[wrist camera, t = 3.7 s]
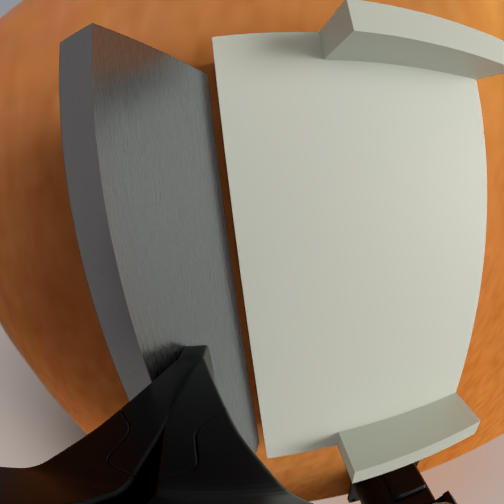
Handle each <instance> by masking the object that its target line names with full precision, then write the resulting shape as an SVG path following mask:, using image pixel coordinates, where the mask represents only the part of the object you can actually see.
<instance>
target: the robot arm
mask: <svg viewBox="0 0 504 504" xmlns="http://www.w3.org/2000/svg"><path fill="white" fill-rule="evenodd" d="M418 462H419V461H416V462H414V463H411V464H409V465H406V466H404V467H401V468H398V469H396V470H393V471H390V472H387V473H384V474H382V475H379V476H375V477H372V478H369V479H366V480H363V481H359V482H356V483H353V484H352V481H351V486H350V490H349V494H348V501H349V502H355V501H358V500H360V501H361V504H457V503H456V501H455V499H454V498H453V497H452V495H451V494H450V492H449V491H447V492H445V493H444V494H443V495H442V496H441V497H440V498H438V499H437V500H435V499H434V496H433V495H432V493H431V491H430V489H429V488H428V486H427V484H426V482H425V481H424V479H423V477H422V476H421V474H420V472H419V470H418V469H417V464H418ZM0 504H313V503H310V502H308V501H306V500H304V499H302V498H300V497H297V496H295V495H294V494H292V493H291V492H289V491H288V490H287V489H286V488H285V487H284V486H283V485H281V484H280V483H279V481H278V480H277V479H276V478H275V477H274V476H273V475H272V474H271V473H270V471H269V470H268V469H267V468H266V467H265V465H264V464H263V463H262V462H261V461H260V459H259V458H258V457H257V456H256V454H255V453H254V452H253V451H252V449H251V448H250V447H249V446H248V444H247V443H246V441H245V440H244V439H243V437H242V436H241V434H240V433H239V431H238V429H237V428H236V426H235V424H234V422H233V420H232V418H231V416H230V414H229V412H228V410H227V408H226V406H225V404H224V402H223V399H222V397H221V395H220V393H219V391H218V388H217V386H216V384H215V382H214V371H213V365H212V360H211V355H210V350H209V347H208V346H207V345H196V346H185V347H184V349H183V351H182V353H181V355H180V357H179V359H178V360H177V361H176V362H174V363H173V364H172V365H171V366H170V367H169V368H168V369H166V370H165V371H164V372H163V373H162V374H161V375H160V376H158V377H157V378H156V379H155V380H154V381H153V382H152V383H150V384H149V385H148V386H147V387H146V388H145V389H143V390H142V391H141V392H140V393H139V394H138V395H137V396H135V397H134V398H133V399H132V400H131V401H129V402H128V403H127V404H126V405H125V406H124V407H122V410H119V411H118V412H116V413H115V414H114V415H113V416H112V417H110V418H109V419H108V420H107V421H105V422H104V423H103V424H102V425H100V426H99V427H98V428H96V429H95V430H94V431H92V432H91V433H89V434H88V435H86V436H85V437H84V438H82V439H81V440H79V441H78V442H76V443H75V444H73V445H71V446H70V447H68V448H67V449H65V450H64V451H62V452H61V453H59V454H58V455H56V456H54V457H53V458H51V459H50V460H48V461H46V462H45V463H43V464H40V465H37V466H34V467H30V468H6V467H0Z"/></svg>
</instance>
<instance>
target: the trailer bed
mask: <svg viewBox="0 0 504 504" xmlns="http://www.w3.org/2000/svg"><path fill="white" fill-rule="evenodd" d="M212 44H213V54H214V63H215V72H216V81H217V90H218V99H219V108H220V116H221V125H222V133H223V141H224V150H225V158H226V166H227V174H228V182H229V190H230V198H231V206H232V214H233V221H234V229H235V237H236V244H237V252H238V260H239V267H240V274H241V282H242V289H243V296H244V304H245V311H246V318H247V325H248V332H249V339H250V346H251V353H252V360H253V367H254V374H255V381H256V388H257V394H258V401H259V408H260V414H261V421H262V427H263V434H264V440H265V446H266V453H267V458H273V457H280V456H286V455H292V454H297V453H302V452H307V451H312V450H317V449H322V448H326V447H330V446H334V445H338V448H339V450H340V453H341V456H342V458H343V461H344V463H345V466H346V468H347V471H348V474H349V476H350V479H351V481H352V484H353V483H356V482H359V481H363V480H366V479H369V478H372V477H375V476H379V475H382V474H384V473H387V472H390V471H393V470H396V469H398V468H401V467H404V466H406V465H409V464H411V463H414V462H416V461H419V460H421V459H423V458H426V457H428V456H430V455H433V454H435V453H437V452H439V451H441V450H444V449H446V448H448V447H450V446H452V445H454V444H456V443H458V442H460V441H462V440H464V439H466V438H468V437H469V436H471V435H473V434H474V433H475V431H476V429H477V427H478V425H479V423H480V421H481V420H480V419H479V418H478V417H477V416H476V415H475V414H474V412H473V411H472V410H471V409H470V408H469V407H468V406H467V404H466V403H465V402H464V401H463V400H462V399H461V398H460V397H459V395H458V394H457V393H456V390H457V387H458V384H459V380H460V377H461V374H462V370H463V367H464V363H465V359H466V355H467V352H468V348H469V343H470V339H471V335H472V330H473V325H474V321H475V315H476V310H477V305H478V299H479V292H480V286H481V278H482V270H483V261H484V251H485V238H486V220H487V169H486V151H485V139H484V129H483V120H482V112H481V105H480V99H479V93H478V87H477V81H476V79H481V78H485V77H490V76H494V75H499V74H504V41H503V40H501V39H498V38H496V37H494V36H491V35H489V34H486V33H484V32H481V31H479V30H476V29H473V28H471V27H468V26H465V25H462V24H459V23H456V22H453V21H450V20H447V19H443V18H440V17H437V16H433V15H429V14H426V13H422V12H418V11H414V10H410V9H405V8H401V7H396V6H391V5H386V4H380V3H374V2H368V1H361V0H345V1H344V2H343V3H342V4H341V6H340V7H339V8H338V9H337V11H336V12H335V13H334V14H333V16H332V17H331V18H330V19H329V21H328V22H327V23H326V25H325V26H324V27H323V28H322V30H321V31H320V32H319V33H317V32H272V33H251V34H238V35H227V36H218V37H212Z"/></svg>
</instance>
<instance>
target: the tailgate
mask: <svg viewBox="0 0 504 504" xmlns="http://www.w3.org/2000/svg"><path fill="white" fill-rule="evenodd" d="M59 98H60V120H61V134H62V145H63V155H64V164H65V172H66V179H67V186H68V193H69V199H70V205H71V211H72V216H73V221H74V227H75V232H76V236H77V241H78V246H79V250H80V254H81V258H82V263H83V267H84V271H85V274H86V278H87V282H88V286H89V289H90V293H91V296H92V300H93V303H94V306H95V310H96V313H97V316H98V319H99V322H100V326H101V329H102V332H103V334H104V337H105V340H106V343H107V346H108V349H109V352H110V354H111V357H112V360H113V362H114V365H115V367H116V370H117V373H118V375H119V378H120V380H121V383H122V385H123V387H124V390H125V392H126V394H127V397H128V399H129V401H131V400H132V399H133V398H134V397H135V396H137V395H138V394H139V393H140V392H141V391H142V390H143V389H145V388H146V387H147V386H148V385H149V384H150V383H152V382H153V381H154V380H155V379H156V378H157V377H158V376H160V375H161V374H162V373H163V372H164V371H165V370H166V369H168V368H169V367H170V366H171V365H172V364H173V363H174V362H176V361H177V360H178V359H179V357H180V355H181V353H182V351H183V349H184V347H185V346H196V345H207V346H208V347H209V350H210V355H211V360H212V365H213V371H214V382H215V384H216V386H217V388H218V391H219V393H220V395H221V397H222V399H223V402H224V404H225V406H226V408H227V410H228V412H229V414H230V416H231V418H232V420H233V422H234V424H235V426H236V428H237V429H238V431H239V433H240V434H241V436H242V437H243V439H244V440H245V441H246V443H247V444H248V446H249V447H250V448H251V449H252V451H253V452H254V453H255V454H256V451H257V448H258V445H259V443H260V442H259V436H258V431H257V425H256V419H255V413H254V407H253V401H252V395H251V389H250V382H249V376H248V370H247V364H246V357H245V351H244V344H243V338H242V331H241V325H240V318H239V312H238V305H237V298H236V291H235V284H234V277H233V270H232V263H231V256H230V249H229V242H228V234H227V227H226V219H225V212H224V204H223V197H222V189H221V181H220V173H219V165H218V157H217V149H216V141H215V132H214V124H213V115H212V107H211V98H210V89H209V80H208V74H206V73H204V72H202V71H200V70H198V69H196V68H194V67H192V66H190V65H188V64H186V63H184V62H182V61H180V60H178V59H176V58H174V57H172V56H170V55H168V54H166V53H164V52H162V51H159V50H157V49H155V48H153V47H151V46H148V45H146V44H144V43H141V42H139V41H137V40H134V39H132V38H130V37H127V36H125V35H122V34H120V33H117V32H115V31H112V30H110V29H107V28H104V27H102V26H99V25H96V24H93V23H92V24H90V25H88V26H86V27H85V28H83V29H81V30H80V31H78V32H76V33H75V34H73V35H71V36H70V37H68V38H67V39H65V40H63V41H62V42H60V55H59Z"/></svg>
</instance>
